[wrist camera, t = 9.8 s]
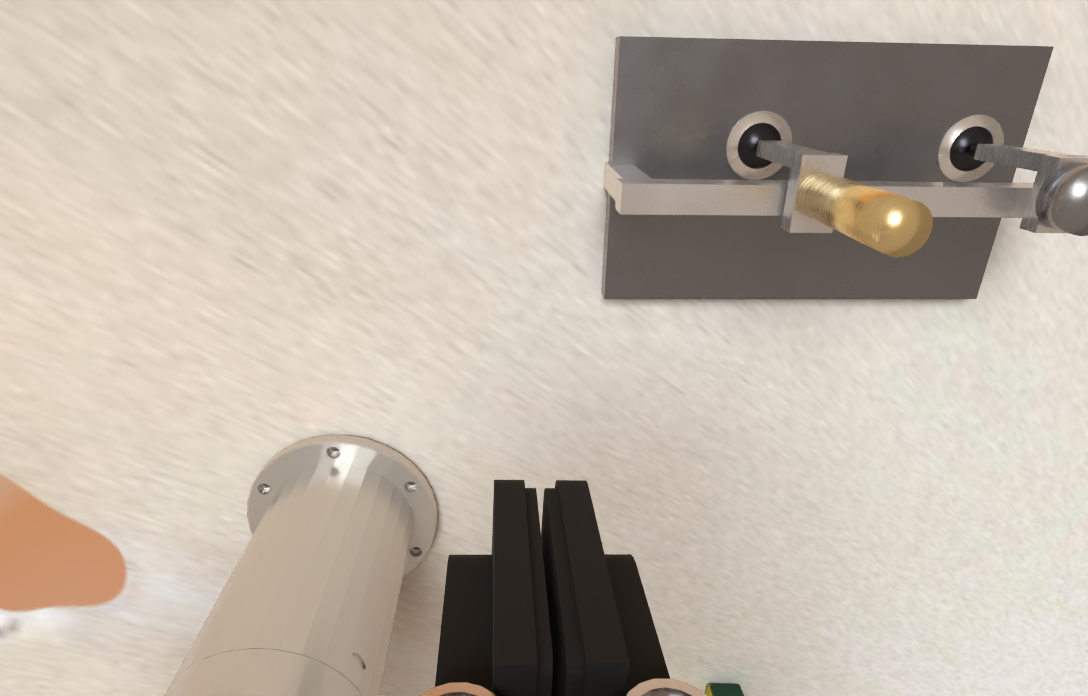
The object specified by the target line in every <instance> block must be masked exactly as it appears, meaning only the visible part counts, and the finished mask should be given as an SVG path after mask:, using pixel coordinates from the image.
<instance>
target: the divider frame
mask: <svg viewBox="0 0 1088 696" xmlns="http://www.w3.org/2000/svg"><path fill="white" fill-rule="evenodd" d="M969 154H970V155H971V156H974V159H975V160H980V161H986V162H991V163H996V164H1002V165H1007V166H1012V167H1017V168H1023V169H1028V170H1033V171H1038V172H1037V175H1036V178H1035V182H1034V183H978V182H889V181H856V182H859V183H862V184H865V185H868V186H871V187H875V188H878V189H881V190H884V191H887V192H890V193H893V194H897V195H900V196H903V197H906V198H909V199H912V200H915V201H919V202H921V203H923V204H925V205H926V206H927V207H928V208H929V210H930V211H931V214H932V217H1005V218H1023V219H1022V222H1021V225H1020V228H1021V229H1025V230H1028V231H1031V232H1034V233H1070V234H1074V235H1078V236H1087V235H1088V156H1084V155H1070V154H1063V153H1057V152H1050V151H1043V150H1036V149H1030V148H1023V147H1016V146H1009V145H1003V144H980V143H975V144H973V145H972V146H971V147H970V149H969ZM788 182H789V180H710V179H652V178H650V177H649V176H648V175H646V174H645V173H644V172H642V171H641V170H640V169H638V168H637V167H636V166H634V165H612V164H611V163H610V162H605V180H604V188H605V189H606V190H607V191H608V193H609V194H610V195H611V196H612V198H613V199H614V200H615V201H616V202H615V209H616V210H617V211H618V212H619V214H630V215H755V216H783V211H784V205H785V199H786V194H787V188H788Z"/></svg>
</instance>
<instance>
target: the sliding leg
mask: <svg viewBox="0 0 1088 696" xmlns="http://www.w3.org/2000/svg"><path fill="white" fill-rule="evenodd" d="M756 156H757V157H760V158H763V159H766V160H769V161H772V162H775V163H778V164H781V165H784V166H787V167H790V168H791V170H790V176H789V182H788V188H787V194H786V199H785V205H784V211H783V217H782V223H781V228H782V229H784V230H786V231H787V232H789V233H832V232H833V229H834V230H836V231H838V232H840V233H842V234H845V235H847V236H849V237H851V238H853V239H855V240H857V241H859V242H861V243H863V244H865V245H867V246H869V247H871V248H873V249H875V250H877V251H880V252H882V253H884V254H886V255H888V256H891V257H905V256H908V255H910V254H912V253H914V252H916V251H917V250H919V249H920V248H921V247H922V246H923V245H924V244H925V242H926V241H927V240H928V238H929V236H930V234H931V231H932V227H933V217H932V214H931V211H930V210H929V208H928V207H927V206H926V205H925V204H923V203H921V202H919V201H915V200H912V199H909V198H906V197H903V196H900V195H897V194H893V193H890V192H887V191H884V190H881V189H878V188H875V187H871V186H868V185H865V184H862V183H859V182H856V181H852V180H849V179H846V178H843V177H844V172H845V168H846V163H847V158H848V155H844V154H840V153H827V152H823V151H820V150H816V149H812V148H808V147H804V146H800V145H796V144H792V143H788V142H784V141H772V140H759V141H758V144H757V154H756Z"/></svg>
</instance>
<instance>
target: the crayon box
mask: <svg viewBox="0 0 1088 696" xmlns="http://www.w3.org/2000/svg"><path fill="white" fill-rule="evenodd" d="M705 694H706V695H707V696H744V695H743V692H742V690H741V687H740V685H739V684H715V683H714V684H707V686H706V693H705Z"/></svg>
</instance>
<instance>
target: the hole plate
mask: <svg viewBox="0 0 1088 696" xmlns="http://www.w3.org/2000/svg"><path fill="white" fill-rule="evenodd" d="M1052 50H1053V47H1045V46H1002V45H960V44H918V43H875V42H833V41H791V40H749V39H706V38H664V37H622V36H620V37H616V49H615V67H614V84H613V101H612V119H611V136H610V153H609V162H610V163H611V164H612V165H634V166H636V167H637V168H638V169H640V170H641V171H642V172H644V173H645V174H646V175H648V176H649V177H650V178H652V179H710V180H789V176H790V170H791V168H790V167H787V166H784V165H781V164H778V163H775V162H772V161H769V160H766V159H763V158H760V157H757V156H756V154H757V144H758V141H759V140H772V141H784V142H788V143H792V144H796V145H800V146H804V147H808V148H812V149H816V150H820V151H823V152H827V153H840V154H844V155H848V158H847V163H846V168H845V172H844V177H843V178H846V179H849V180H852V181H889V182H978V183H1012V181H1013V177H1014V174H1015V171H1016V168H1017V167H1012V166H1007V165H1002V164H996V163H991V162H986V161H980V160H975V159H974V156H971V155H970V154H969V149H970V147H971V146H972V145H973V144H975V143H980V144H1003V145H1009V146H1016V147H1023V145H1024V141H1025V138H1026V135H1027V132H1028V128H1029V125H1030V122H1031V119H1032V115H1033V112H1034V109H1035V106H1036V102H1037V99H1038V96H1039V93H1040V89H1041V86H1042V83H1043V79H1044V76H1045V73H1046V70H1047V66H1048V63H1049V60H1050V57H1051V53H1052ZM615 202H616V201H615V200H614V199H613V198H612V196H611V195H610V194H609V193H608V191H607V205H606V223H605V240H604V257H603V275H602V295H603V297H604V299H976V298H977V295H978V291H979V288H980V285H981V282H982V278H983V275H984V272H985V269H986V265H987V262H988V259H989V256H990V252H991V249H992V246H993V243H994V239H995V236H996V233H997V229H998V226H999V223H1000V220H1001V217H933V227H932V231H931V234H930V236H929V238H928V240H927V241H926V242H925V244H924V245H923V246H922V247H921V248H920V249H919V250H917V251H916V252H914V253H912V254H910V255H908V256H905V257H891V256H888V255H886V254H884V253H882V252H880V251H877V250H875V249H873V248H871V247H869V246H867V245H865V244H863V243H861V242H859V241H857V240H855V239H853V238H851V237H849V236H847V235H845V234H842V233H840V232H838V231H836V230H834V229H833V232H832V233H789V232H787V231H786V230H784V229H782V228H781V223H782V217H783V216H755V215H630V214H619V212H618V211H617V210H616V209H615Z"/></svg>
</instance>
